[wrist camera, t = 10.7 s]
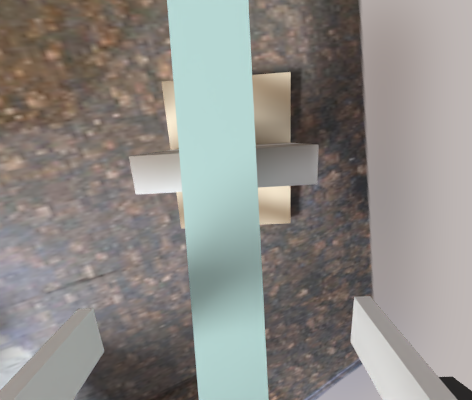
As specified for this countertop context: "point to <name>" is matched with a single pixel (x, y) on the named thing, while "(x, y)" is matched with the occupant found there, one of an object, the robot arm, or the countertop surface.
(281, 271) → the countertop surface
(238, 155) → the beam
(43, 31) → the countertop surface
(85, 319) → the robot arm
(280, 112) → the balance stand
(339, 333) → the countertop surface
